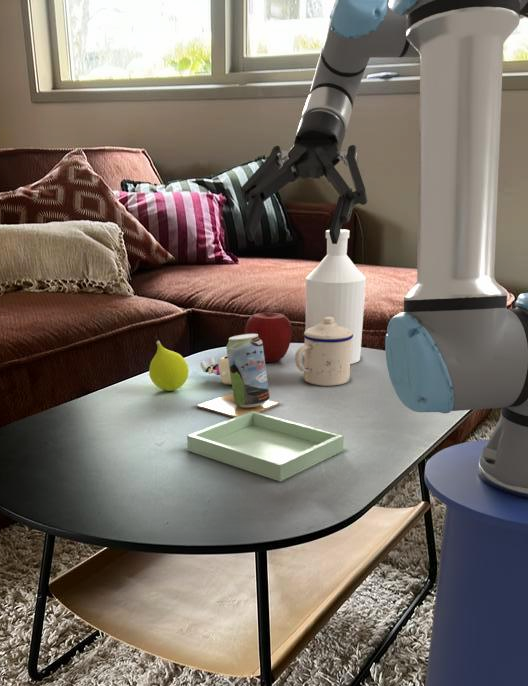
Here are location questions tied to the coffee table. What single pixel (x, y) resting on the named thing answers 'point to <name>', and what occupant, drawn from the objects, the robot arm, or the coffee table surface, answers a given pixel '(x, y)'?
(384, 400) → the coffee table surface
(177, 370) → the ornament
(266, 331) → the apple
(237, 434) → the tray
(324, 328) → the teacup with lid
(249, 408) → the coaster
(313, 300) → the bottle
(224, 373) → the figurine
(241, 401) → the beverage can
